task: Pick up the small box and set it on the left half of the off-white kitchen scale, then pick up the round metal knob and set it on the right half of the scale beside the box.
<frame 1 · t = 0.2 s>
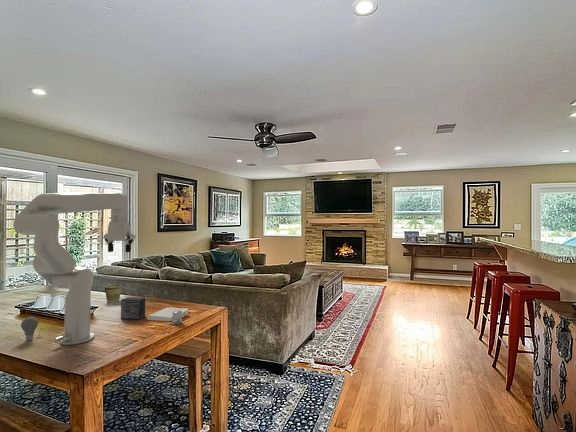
hand: (119, 251, 167), 36 cm above the table, tool pointing down, fingers open, 9 cm apart
round metal knob: (177, 323, 165), on the table
light bulb: (29, 340, 142), on the table
scale: (168, 315, 178), on the table
olive flower pot: (114, 301, 211), on the table
small box: (133, 318, 174), on the table
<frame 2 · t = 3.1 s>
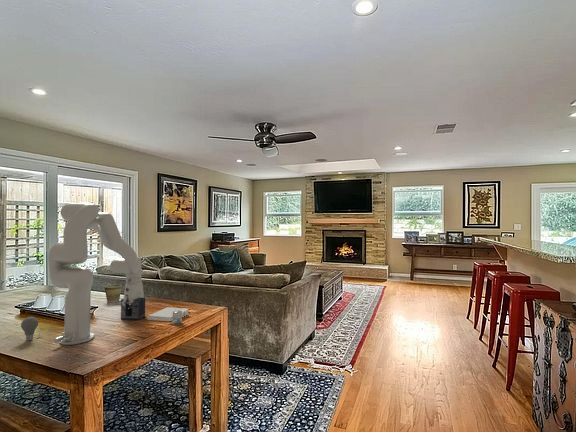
hand: (133, 313, 174), 2 cm above the table, tool pointing down, fingers closed on small box, 6 cm apart
small box: (133, 318, 174), on the table, touching gripper
everything else where it was.
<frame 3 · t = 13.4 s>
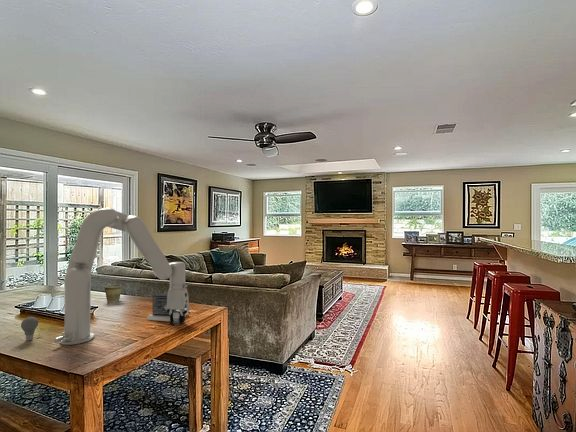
hand: (177, 322, 165), 1 cm above the table, tool pointing down, fingers closed on round metal knob, 4 cm apart
round metal knob: (177, 323, 165), on the table, touching gripper
small box: (164, 314, 175), point 2 cm above the table, touching scale
everything else where it was.
when the fingers open (4 cm above the table, at t = 18.5 s): round metal knob drops 1 cm, resting on scale.
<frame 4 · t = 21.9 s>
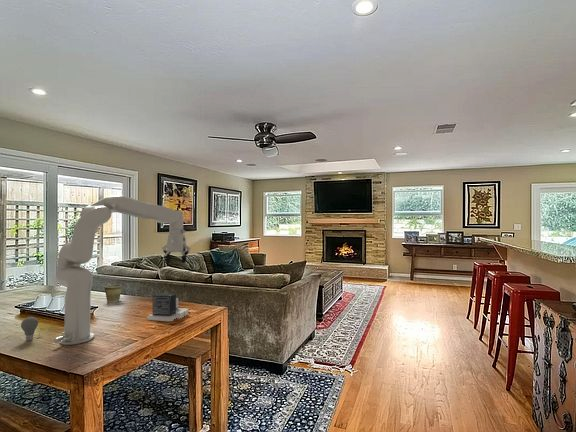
hand: (176, 262, 186), 28 cm above the table, tool pointing down, fingers open, 9 cm apart
round metal knob: (174, 309, 184), point 2 cm above the table, touching scale
everything else where it was.
at the end: small box inside the target area on the scale (0.1 cm from its centre), point 1.8 cm above the scale's base; round metal knob inside the target area on the scale (0.7 cm from its centre), point 2.0 cm above the scale's base; small box tilted 0° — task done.
